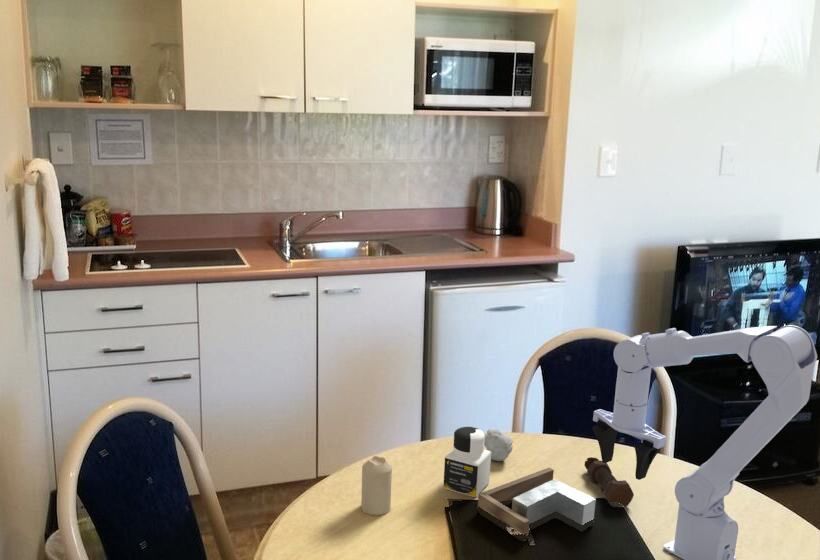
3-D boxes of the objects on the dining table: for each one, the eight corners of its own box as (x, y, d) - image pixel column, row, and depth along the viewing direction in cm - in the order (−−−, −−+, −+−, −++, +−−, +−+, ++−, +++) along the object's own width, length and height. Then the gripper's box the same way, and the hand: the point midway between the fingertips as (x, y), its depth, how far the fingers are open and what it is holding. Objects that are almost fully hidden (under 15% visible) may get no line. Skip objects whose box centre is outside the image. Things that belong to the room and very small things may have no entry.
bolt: (593, 479, 163) (622, 514, 149) (574, 469, 162) (602, 503, 148) (608, 456, 163) (639, 489, 148) (589, 446, 162) (618, 478, 147)
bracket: (551, 549, 134) (554, 520, 133) (510, 525, 141) (512, 498, 140) (592, 526, 142) (595, 498, 140) (552, 504, 149) (554, 478, 147)
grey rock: (476, 455, 168) (478, 425, 166) (506, 452, 170) (508, 423, 168) (486, 468, 162) (488, 437, 161) (517, 465, 164) (519, 434, 163)
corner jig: (594, 511, 147) (596, 492, 146) (523, 543, 135) (524, 522, 134) (547, 485, 156) (549, 467, 155) (477, 513, 145) (478, 493, 144)
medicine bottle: (442, 488, 153) (445, 433, 150) (457, 474, 159) (460, 420, 156) (475, 498, 150) (479, 441, 147) (489, 483, 156) (493, 428, 153)
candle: (364, 517, 142) (365, 467, 139) (358, 502, 147) (359, 454, 145) (393, 514, 143) (395, 464, 141) (386, 499, 148) (388, 451, 146)
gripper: (679, 409, 136) (670, 479, 139) (612, 384, 147) (606, 449, 150) (654, 418, 132) (646, 490, 135) (588, 391, 143) (582, 458, 146)
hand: (623, 469), depth 143 cm, fingers open, 7 cm apart
